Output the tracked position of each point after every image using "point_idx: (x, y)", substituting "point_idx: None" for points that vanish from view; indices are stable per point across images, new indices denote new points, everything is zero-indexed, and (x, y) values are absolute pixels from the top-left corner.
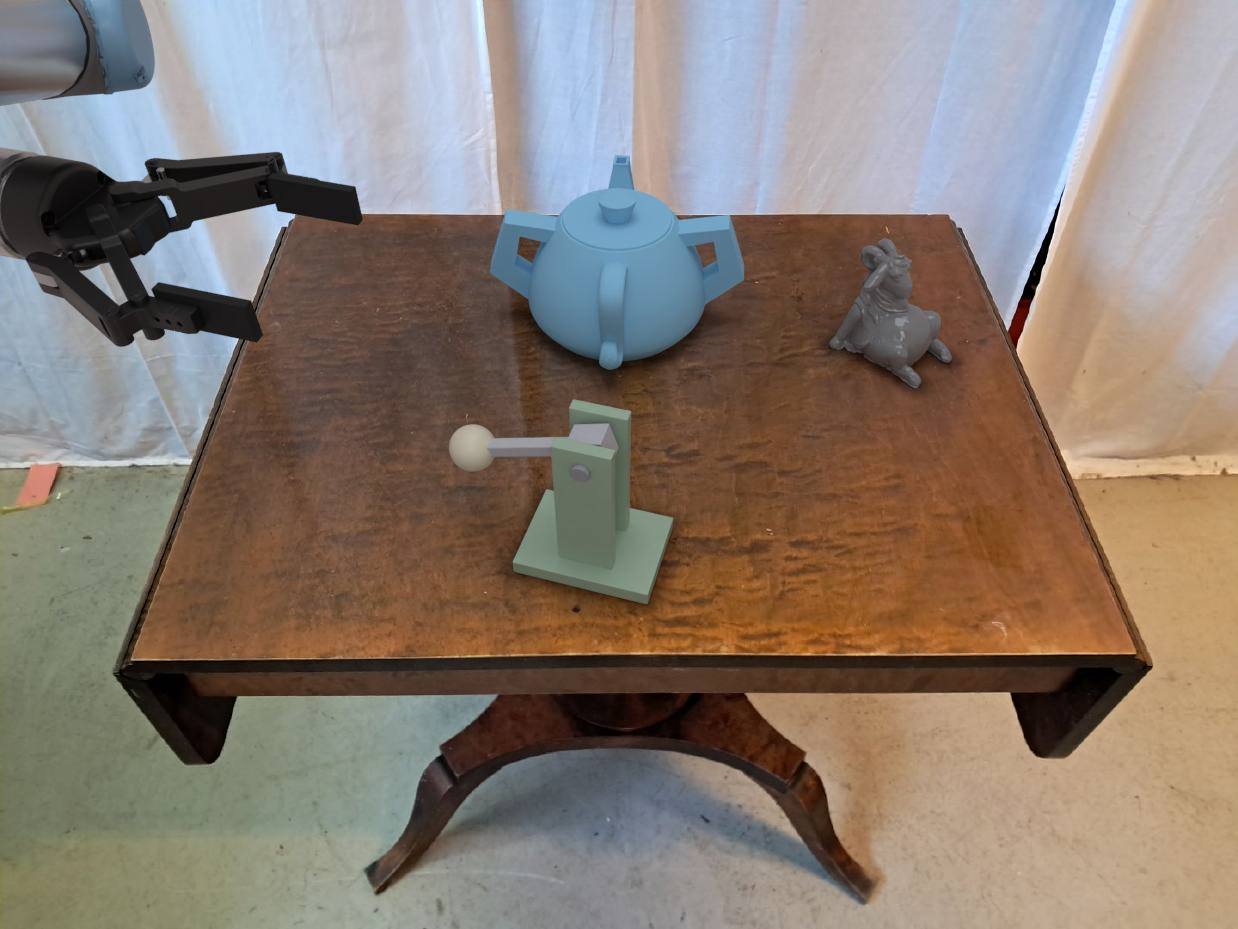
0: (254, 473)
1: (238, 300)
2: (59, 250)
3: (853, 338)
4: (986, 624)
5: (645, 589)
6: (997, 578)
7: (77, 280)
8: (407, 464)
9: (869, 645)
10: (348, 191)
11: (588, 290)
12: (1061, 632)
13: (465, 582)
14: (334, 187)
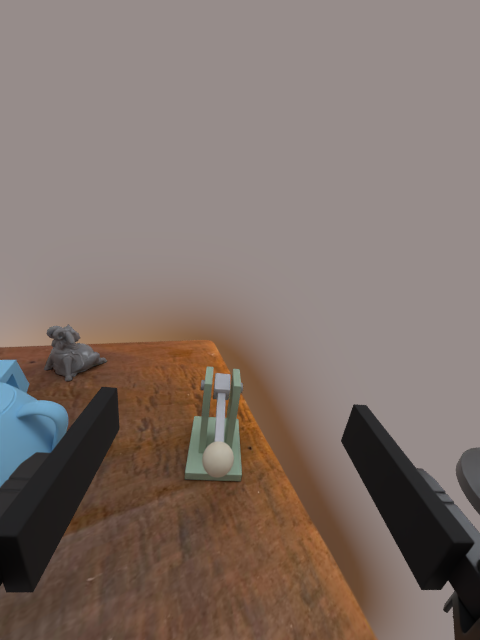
0: None
1: (364, 414)
2: None
3: (73, 369)
4: (213, 356)
5: (236, 419)
6: (196, 353)
7: None
8: (158, 617)
9: (229, 373)
10: (116, 389)
11: (24, 439)
12: (211, 346)
13: (257, 506)
14: (100, 405)
